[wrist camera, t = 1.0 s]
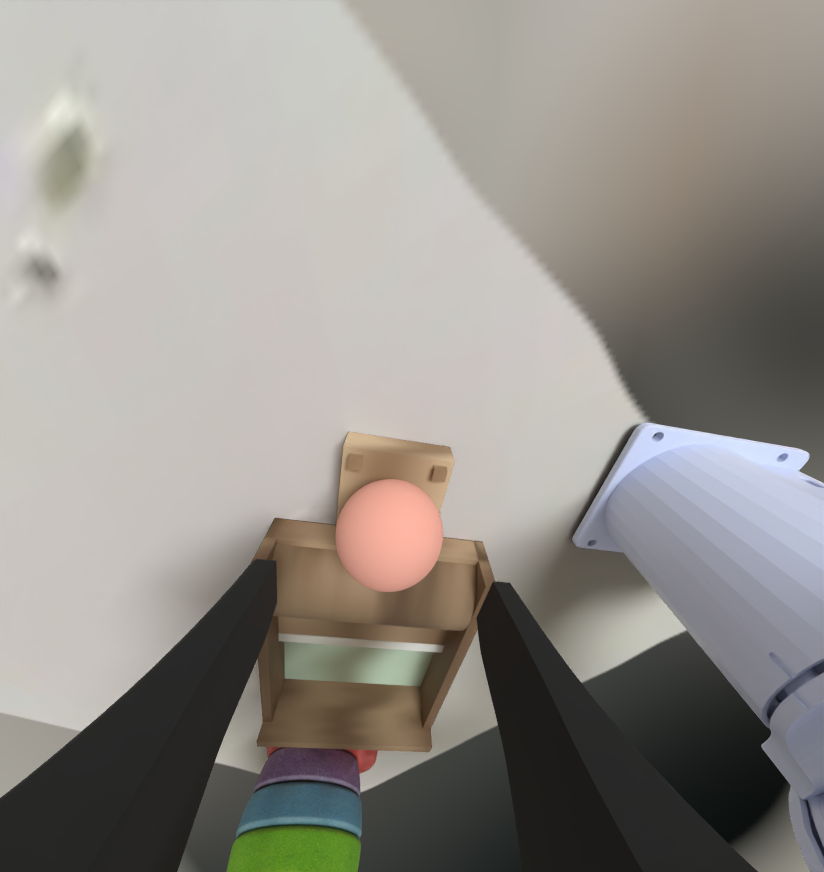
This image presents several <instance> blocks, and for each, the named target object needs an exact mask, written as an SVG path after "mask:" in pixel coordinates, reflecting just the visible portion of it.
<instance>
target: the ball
mask: <svg viewBox="0 0 824 872" xmlns="http://www.w3.org/2000/svg"><path fill="white" fill-rule="evenodd" d="M442 543H443V526H442V521H441V517H440V514H439V512H438V510H437V508H436V506H435V504H434V502H433V501H432V500H431V498H430V497H429V496H428V495H427V494H426V493H425V492H424V491H423V490H421V489H420V488H419V487H417V486H415V485H414V484H411V483H409V482H406V481H403V480H397V479H384V480H379V481H375V482H372V483H369V484H367V485H365V486H364V487H362V488H361V489H359V490H358V491H356V492H355V493H354V494H353V495H352V496H351V497H350V498H349V500H348V501H347V502H346V504H345V505H344V507H343V509H342V510H341V513H340V515H339V518H338V521H337V526H336V548H337V553H338V556H339V558H340V561H341V563H342V565H343V566H344V568H345V570H346V571H347V572H348V574H349V575H350V576H351V577H352V578H353V579H354V580H356V581H357V582H358V583H360V584H361V585H363V586H365V587H367V588H369V589H372V590H375V591H380V592H396V591H401V590H404V589H407V588H409V587H411V586H413V585H415V584H417V583H418V582H420V581H421V580H422V579H423V578H424V577H425V576H426V575H427V574H428V573H429V572H430V571H431V569H432V568H433V567H434V565H435V563H436V561H437V559H438V557H439V555H440V551H441V548H442Z"/></svg>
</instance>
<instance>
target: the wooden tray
mask: <svg viewBox="0 0 824 872" xmlns="http://www.w3.org/2000/svg"><path fill="white" fill-rule="evenodd" d="M335 528H336V525H333V524H324V523H315V522H307V521H298V520H289V519H281V518H275V519H274V521H273V523H272V525H271V526H270V528H269V530H268V532H267V534H266V536H265V538H264V540H263V541H262V543H261V545H260V547H259V549H258V551H257V553H256V554H255V556H254V558H253V560H252V561H254V560H255V559H263V560H274V561H276V566H277V605H276V608H275V611H274V614H273V617H272V621H271V624H270V627H269V630H268V633H267V636H266V639H265V641H264V644H263V646H262V648H261V651H260V653H259V655H258V665H259V678H260V691H261V703H262V716H263V723H262V726H261V730H260V733H259V736H258V739H257V746H263V747H293V748H323V749H354V750H384V751H414V752H430V750H431V748H432V743H431V727H432V725H433V723H434V721H435V718H436V716H437V714H438V712H439V710H440V708H441V706H442V704H443V701H444V699H445V697H446V695H447V693H448V691H449V689H450V687H451V685H452V682H453V680H454V678H455V676H456V674H457V672H458V670H459V668H460V665H461V663H462V661H463V659H464V657H465V655H466V653H467V651H468V649H469V646H470V644H471V642H472V640H473V638H474V636H475V634H476V632H477V629H478V627H477V619H476V618H477V615H478V613H479V611H480V609H481V607H482V605H483V602H484V600H485V598H486V596H487V594H488V591H489V589H490V587H491V585H492V583H493V581H494V582H495V580H494V576H493V573H492V570H491V567H490V564H489V560H488V557H487V554H486V551H485V548H484V545H483V542H480V541H472V540H463V539H454V538H446V537H443V543H442V548H441V551H440V555H439V557H438V559H437V561H436V563H435V565H434V567H433V568H432V569H431V571H430V572H429V573H428V574H427V575H426V576H425V577H424V578H423V579H422V580H421V581H420V582H418V583H417V584H415V585H413V586H411V587H409V588H407V589H404V590H401V591H396V592H380V591H375V590H372V589H369V588H367V587H365V586H363V585H361V584H360V583H358V582H357V581H356V580H354V579H353V578H352V577H351V576H350V575H349V574H348V572H347V571H346V570H345V568H344V566H343V565H342V563H341V561H340V558H339V556H338V553H337V548H336V531H335ZM251 563H252V562H251Z"/></svg>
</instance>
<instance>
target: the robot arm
mask: <svg viewBox="0 0 824 872" xmlns="http://www.w3.org/2000/svg"><path fill="white" fill-rule="evenodd" d="M656 433H657V434H656ZM654 434H656V435H655V436H654ZM653 436H654V437H653ZM808 459H809V454H808V453H807V452H805V451H803V450H800V449H798V448H792V447H786V446H780V445H774V444H769V443H762V442H757V441H751V440H745V439H739V438H734V437H728V436H722V435H716V434H711V433H705V432H699V431H693V430H687V429H681V428H676V427H670V426H664V425H658V424H653V423H643V424H641V425H639V426H638V427H636V429H635V430H634V431H633V433H632V435H631V437H630V438H629V440H628V442H627V444H626V445H625V447H624V449H623V451H622V452H621V454H620V456H619V457H618V459H617V461H616V463H615V464H614V466H613V468H612V470H611V471H610V473H609V475H608V477H607V478H606V480H605V482H604V484H603V485H602V487H601V489H600V490H599V492H598V494H597V496H596V497H595V499H594V501H593V503H592V504H591V506H590V508H589V510H588V511H587V513H586V515H585V516H584V518H583V520H582V522H581V523H580V525H579V527H578V529H577V530H576V532H575V534H574V536H573V538H572V540H573V542H574V544H575V545H576V546H577V547H580V548H588V549H596V550H605V551H613V552H622V553H624V554H625V555H626V556H627V558H628V559H629V560H630V561H631V563H632V564H633V565H634V566H635V567H636V569H637V570H638V571H639V572H640V573H641V575H642V576H643V577H644V578H645V580H646V581H647V582H648V583H649V584H650V586H651V587H652V588H653V589H654V590H655V592H656V593H657V594H658V595H659V597H660V598H661V599H662V600H663V601H664V603H665V604H666V605H667V606H668V608H669V609H670V610H671V611H672V612H673V614H674V615H675V616H676V617H677V618H678V620H679V621H680V622H681V623H682V625H683V626H684V627H685V628H686V629H687V631H688V632H689V633H690V634H691V635H692V637H693V638H694V639H695V640H696V641H697V643H698V644H699V645H700V646H701V648H702V649H703V650H704V651H705V652H706V654H707V655H708V656H709V657H710V659H711V660H712V661H713V662H714V663H715V665H716V666H717V667H718V668H719V669H720V671H721V672H722V673H723V674H724V675H725V677H726V678H727V679H728V680H729V682H730V683H731V684H732V685H733V687H734V688H735V689H736V690H737V691H738V693H739V694H740V695H741V696H742V697H743V699H744V700H745V701H746V702H747V703H748V704H749V706H750V707H751V708H752V710H753V711H754V712H755V713H756V714H757V716H758V717H759V718H760V719H761V720H762V722H763V723H764V724H765V725H766V726H767V727H768V728H770V729H771V736H770V738H769V739H768V740H767V741H766V742H764V743H763V744H762V749H763V750H764V751H765V752H766V754H767V755H768V756H769V758H770V759H771V760H772V761H773V762H774V764H775V765H776V766H777V768H778V769H779V770H780V772H781V773H782V774H783V775H784V777H785V778H786V779H787V781H788V782H789V783H790V785H791V789H790V793H789V813H790V817H791V821H792V826H793V830H794V834H795V837H796V839H797V842H798V844H799V847H800V850H801V852H802V855H803V858H804V860H805V862H806V864H807V866H808V868H809V870H810V872H824V483H822V482H820V481H818V480H816V479H814V478H811V477H809V476H807V475H805V474H803V473H801V472H799V471H798V470H800V469H801V467H802V466H803V465H804V464H805V463H806V462H807V461H808ZM276 605H277V566H276V561H274V560H263V559H255V560H254V561H252V563H251V564H250V565H249V566H248V568H247V569H246V570H245V571H244V572H243V573H242V575H241V576H240V577H239V578H238V579H237V581H236V582H235V583H234V584H233V585H232V586H231V587H230V589H229V590H228V591H227V592H226V593H225V594H224V595H223V596H222V597H221V599H220V600H219V601H218V602H217V603H216V604H215V605H214V606H213V607H212V608H211V609H210V610H209V611H208V613H207V614H206V615H205V616H204V617H203V618H202V619H201V620H200V621H199V622H198V623H197V624H196V625H195V626H194V627H193V628H192V629H191V630H190V632H189V633H188V634H187V635H186V636H185V637H184V638H183V639H182V640H181V641H180V642H178V643H177V644H176V645H175V646H174V647H173V648H172V649H171V650H170V651H169V652H168V653H167V654H166V655H165V656H164V657H163V658H162V659H161V660H160V661H159V662H158V663H157V664H156V665H155V666H154V667H153V668H152V669H151V670H150V671H149V672H148V673H147V674H146V675H145V676H143V677H142V678H141V679H140V680H139V681H138V682H137V683H136V684H135V685H134V686H133V687H132V688H130V689H129V690H128V691H127V692H126V693H125V694H124V695H123V696H122V697H121V698H119V699H118V700H117V701H116V702H115V703H114V704H113V705H112V706H110V707H109V708H108V709H107V710H106V711H105V712H104V713H103V714H101V715H100V716H99V717H98V718H97V719H96V720H94V721H93V722H92V723H91V724H90V725H89V726H87V727H86V728H85V729H84V730H83V731H82V732H80V733H79V734H78V735H77V736H76V737H75V738H73V739H72V740H71V741H70V742H69V743H68V744H66V745H65V746H64V747H63V748H62V749H60V751H58V752H57V753H56V754H54V755H53V756H52V757H51V758H50V759H48V761H46V762H45V763H44V764H42V765H41V766H40V767H39V768H38V769H36V770H35V771H34V772H33V773H32V774H30V775H29V776H28V777H27V778H25V779H24V780H23V781H21V783H19V784H18V785H17V786H15V787H14V788H13V789H11V790H10V791H9V792H8V793H6V794H5V795H4V796H2V797H1V798H0V872H177V871H178V867H179V865H180V862H181V859H182V855H183V853H184V850H185V847H186V844H187V841H188V838H189V835H190V832H191V829H192V826H193V823H194V820H195V817H196V814H197V811H198V808H199V805H200V802H201V800H202V797H203V794H204V791H205V788H206V785H207V782H208V779H209V777H210V773H211V771H212V768H213V765H214V762H215V759H216V757H217V754H218V751H219V748H220V746H221V743H222V741H223V738H224V736H225V733H226V731H227V728H228V726H229V723H230V721H231V719H232V716H233V714H234V712H235V709H236V707H237V705H238V702H239V700H240V698H241V695H242V693H243V691H244V688H245V686H246V684H247V681H248V679H249V677H250V674H251V672H252V670H253V667H254V665H255V663H256V660H257V658H258V655H259V653H260V651H261V648H262V646H263V644H264V641H265V639H266V636H267V633H268V630H269V627H270V624H271V621H272V617H273V614H274V611H275V608H276ZM476 619H477V627H478V635H479V642H480V649H481V655H482V659H483V664H484V668H485V672H486V676H487V681H488V685H489V689H490V693H491V697H492V701H493V706H494V710H495V714H496V718H497V722H498V726H499V730H500V734H501V739H502V743H503V748H504V753H505V758H506V764H507V770H508V776H509V782H510V788H511V794H512V800H513V807H514V813H515V819H516V827H517V833H518V840H519V847H520V854H521V861H522V869H523V872H757V871H756V870H755V869H754V868H753V867H752V866H751V865H750V864H749V863H748V862H746V860H745V859H744V858H742V857H741V856H740V855H739V854H738V853H737V852H736V851H735V850H734V849H733V848H732V847H731V846H730V845H729V844H728V843H727V842H726V841H725V840H724V839H723V838H722V837H721V836H720V835H719V834H718V833H717V832H716V831H715V830H714V829H713V828H712V827H711V826H710V825H709V824H708V823H707V822H706V821H705V820H704V819H703V818H702V817H701V816H700V815H699V814H698V813H697V812H696V811H695V810H694V809H693V808H692V807H691V806H690V805H689V804H688V803H687V802H686V801H685V800H684V799H683V798H682V797H681V796H680V795H679V794H678V793H677V792H676V791H675V790H674V788H673V787H672V786H671V785H670V784H669V783H668V782H667V781H666V780H665V779H664V778H663V777H662V776H661V775H660V774H659V773H658V772H657V771H656V769H655V768H654V767H653V766H652V765H651V764H650V763H649V762H648V761H647V760H646V759H645V758H644V757H643V756H642V755H641V754H640V752H639V751H638V750H637V749H636V748H635V747H634V746H633V744H632V743H631V742H630V741H629V740H628V739H627V738H626V737H625V735H624V734H623V733H622V732H621V731H620V730H619V728H618V727H617V726H616V725H615V724H614V723H613V721H612V720H611V719H610V718H609V717H608V716H607V714H606V713H605V712H604V711H603V710H602V708H601V707H600V706H599V705H598V704H597V703H596V701H595V700H594V699H593V697H592V696H591V695H590V694H589V692H588V691H587V690H586V689H585V687H584V686H583V685H582V683H581V682H580V681H579V680H578V678H577V677H576V676H575V674H574V673H573V672H572V670H571V669H570V668H569V666H568V665H567V664H566V662H565V661H564V660H563V658H562V657H561V656H560V654H559V653H558V651H557V650H556V649H555V647H554V646H553V645H552V643H551V642H550V640H549V639H548V638H547V636H546V635H545V633H544V632H543V631H542V629H541V628H540V626H539V625H538V623H537V622H536V620H535V619H534V618H533V616H532V615H531V613H530V612H529V610H528V609H527V607H526V606H525V604H524V603H523V601H522V600H521V598H520V597H519V596H518V594H517V593H516V591H515V590H514V588H513V587H512V585H511V584H510V583H505V582H494V581H493V583H492V585H491V587H490V589H489V591H488V594H487V596H486V598H485V600H484V602H483V605H482V607H481V609H480V611H479V613H478V615H477V618H476Z"/></svg>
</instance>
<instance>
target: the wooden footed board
mask: <svg viewBox="0 0 824 872" xmlns="http://www.w3.org/2000/svg"><path fill="white" fill-rule="evenodd" d="M453 466H454V459H453V455H452V452H451V448H450V447H446V446H439V445H433V444H426V443H419V442H413V441H406V440H399V439H393V438H386V437H379V436H373V435H366V434H359V433H353V432H348V434H347V437H346V440H345V443H344V446H343V455H342V466H341V476H340V487H339V497H338V508H337V518H336V526H337V521H338V518H339V515H340V513H341V510H342V509H343V507H344V505H345V504H346V502H347V501H348V500H349V498H350V497H351V496H352V495H353V494H354V493H355V492H356V491H358V490H359V489H361V488H362V487H364V486H365V485H367V484H369V483H372V482H375V481H379V480H384V479H397V480H403V481H406V482H409V483H411V484H414V485H415V486H417V487H419V488H420V489H421V490H423V491H424V492H425V493H426V494H427V495H428V496H429V497H430V498H431V500H432V501H433V502H434V504H435V506H436V508H437V510H438V512H439V514H440V510H441V507H442V503H443V500H444V496H445V493H446V490H447V486H448V483H449V479H450V476H451V473H452V469H453ZM335 531H336V528H335Z"/></svg>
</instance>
